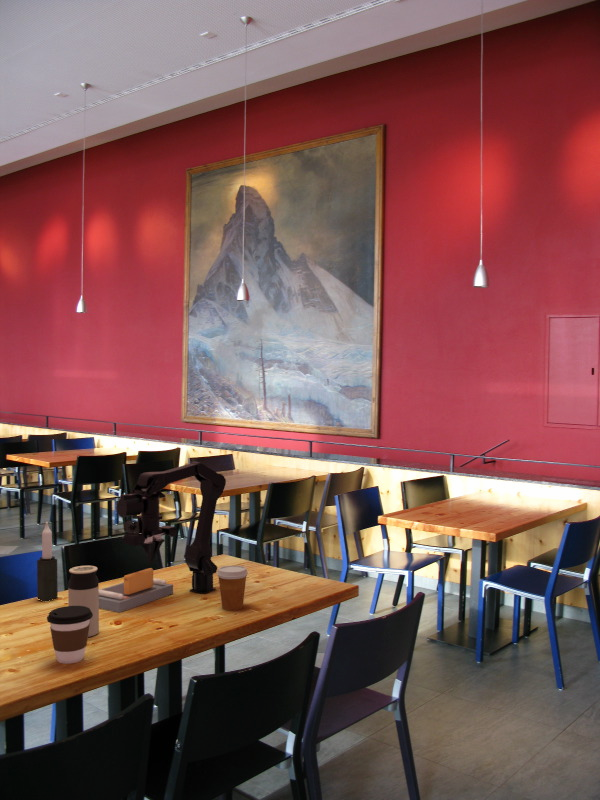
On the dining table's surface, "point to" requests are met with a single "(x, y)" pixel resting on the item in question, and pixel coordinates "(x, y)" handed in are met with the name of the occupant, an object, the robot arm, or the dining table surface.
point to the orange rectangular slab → (138, 581)
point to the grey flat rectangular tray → (132, 596)
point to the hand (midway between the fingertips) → (150, 562)
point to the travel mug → (85, 593)
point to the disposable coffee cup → (232, 586)
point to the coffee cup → (70, 632)
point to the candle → (47, 569)
